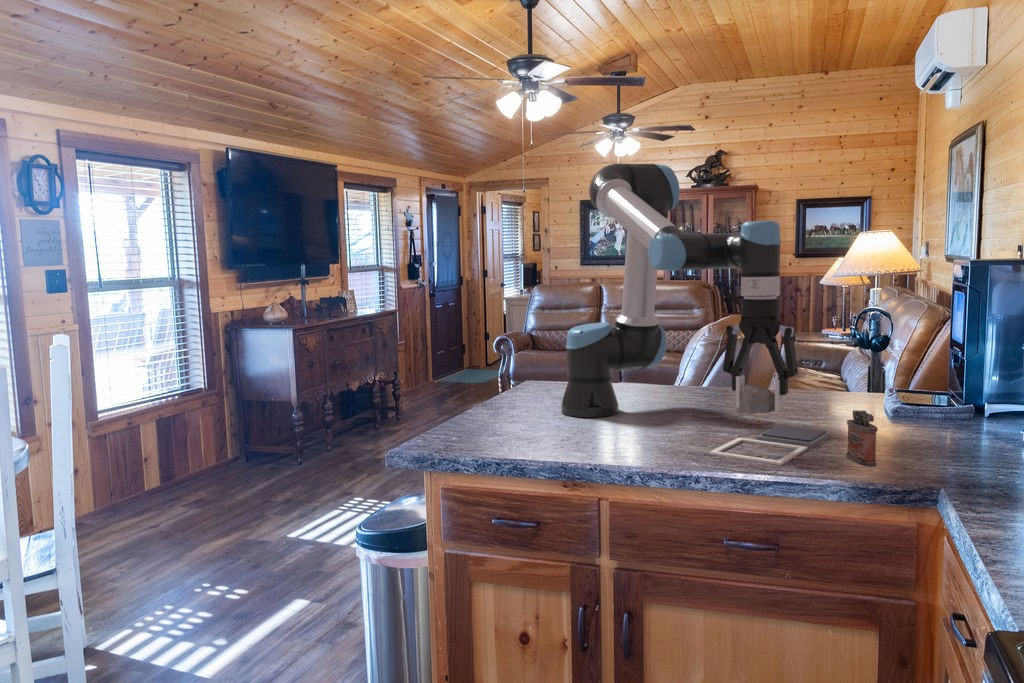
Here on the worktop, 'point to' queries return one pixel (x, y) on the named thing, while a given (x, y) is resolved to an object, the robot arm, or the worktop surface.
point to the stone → (756, 400)
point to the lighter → (862, 439)
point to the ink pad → (794, 436)
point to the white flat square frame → (780, 462)
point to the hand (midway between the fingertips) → (759, 408)
